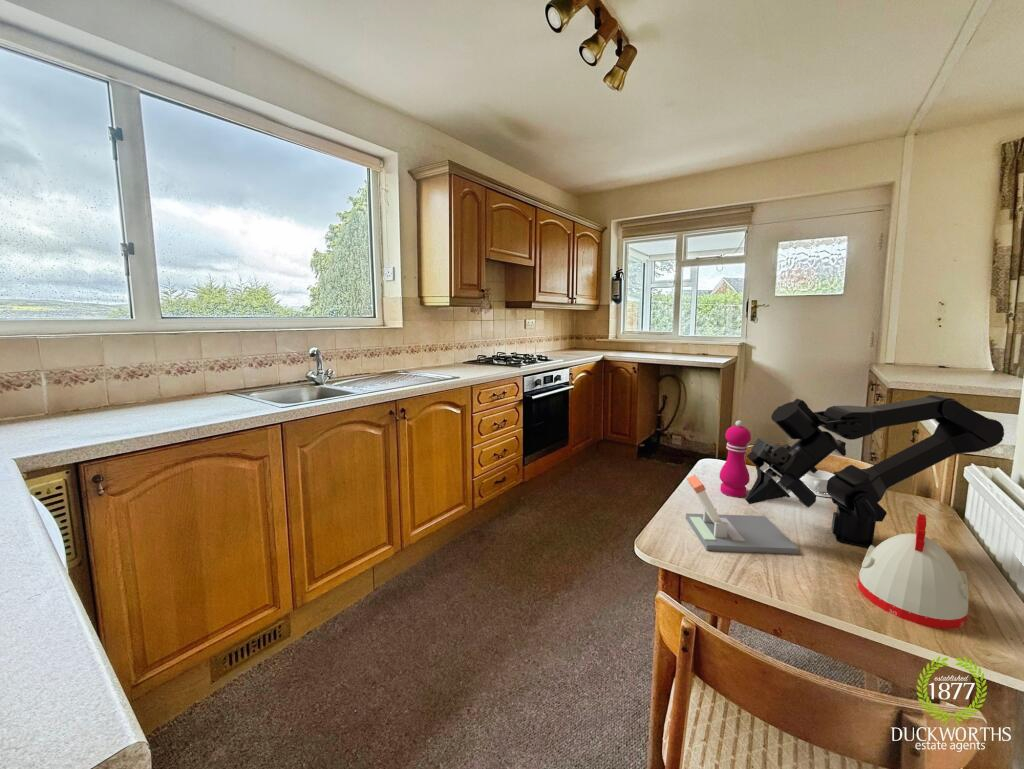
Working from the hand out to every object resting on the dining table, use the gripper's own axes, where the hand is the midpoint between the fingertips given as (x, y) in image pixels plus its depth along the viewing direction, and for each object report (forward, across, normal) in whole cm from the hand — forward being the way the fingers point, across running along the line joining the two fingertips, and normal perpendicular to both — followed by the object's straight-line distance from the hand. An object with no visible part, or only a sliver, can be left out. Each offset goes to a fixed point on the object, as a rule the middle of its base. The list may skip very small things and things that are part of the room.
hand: (747, 502), depth 95 cm
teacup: (-15, -26, +28) cm, 41 cm away
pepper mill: (+1, -23, +10) cm, 25 cm away
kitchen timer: (-7, +20, +19) cm, 29 cm away
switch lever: (+8, 0, -2) cm, 8 cm away
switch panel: (+7, 0, +4) cm, 8 cm away
